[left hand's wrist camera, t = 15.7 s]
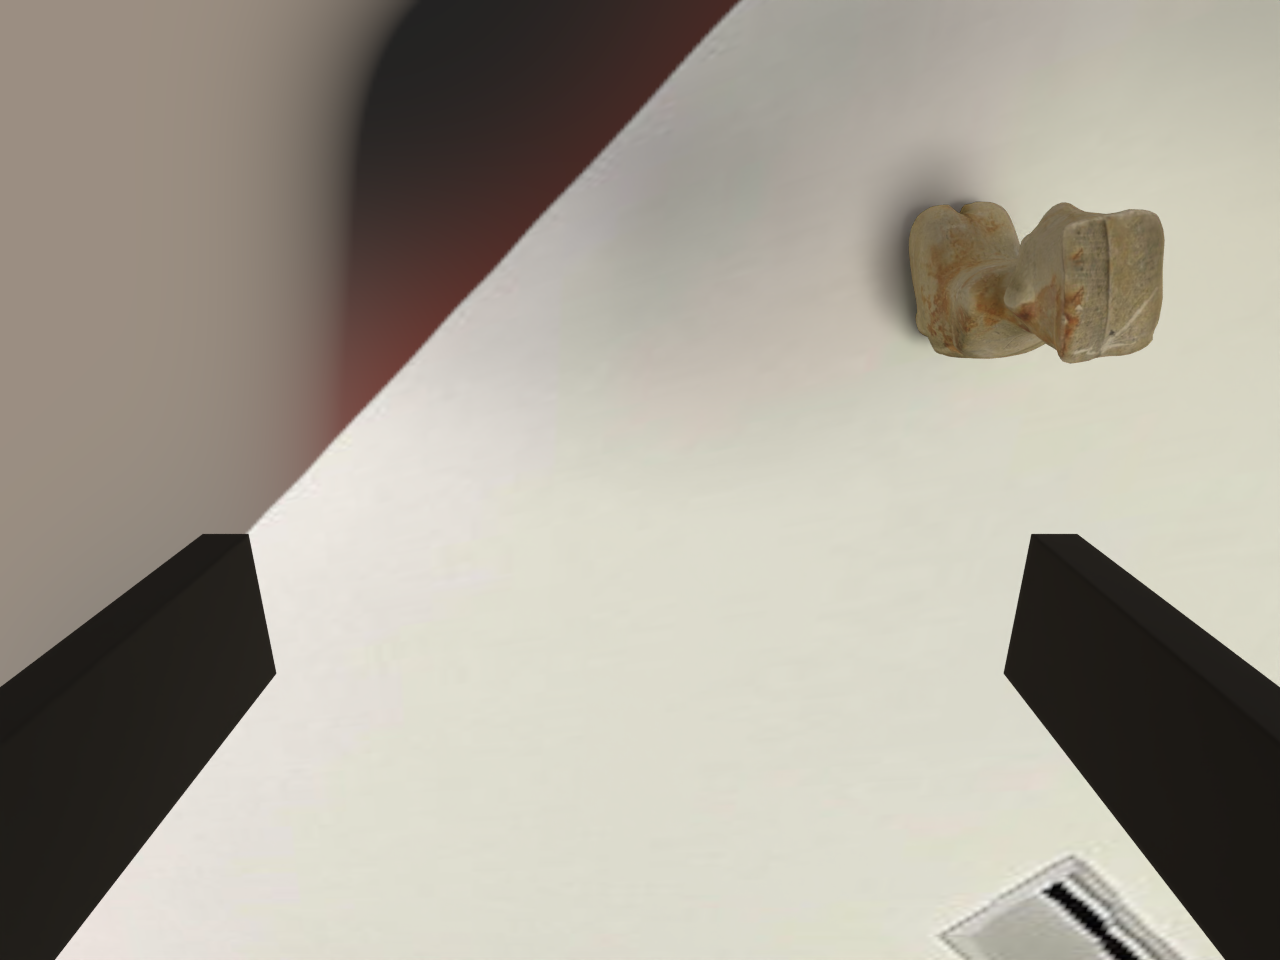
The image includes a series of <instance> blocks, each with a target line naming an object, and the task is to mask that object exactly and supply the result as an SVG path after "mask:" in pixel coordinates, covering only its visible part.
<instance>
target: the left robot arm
mask: <svg viewBox="0 0 1280 960" xmlns="http://www.w3.org/2000/svg"><path fill="white" fill-rule="evenodd" d="M275 675H276V669H275V664H274V659H273V654H272V649H271V644H270V639H269V634H268V629H267V624H266V619H265V614H264V609H263V604H262V599H261V594H260V589H259V584H258V579H257V574H256V569H255V564H254V559H253V554H252V549H251V544H250V539H249V534H202V535H201V536H200V537H198V538H197V539H196V540H194V541H193V542H192V543H190V544H189V545H188V546H186V547H185V548H184V549H182V550H181V551H180V552H178V553H177V554H176V555H175V556H173V557H172V558H171V559H169V560H168V561H167V562H165V563H164V564H163V565H161V566H160V567H159V568H157V569H156V570H155V571H153V572H152V573H151V574H149V575H148V576H147V577H145V578H144V579H143V580H141V581H140V582H139V583H137V584H136V585H135V586H133V587H132V588H131V589H130V590H128V591H127V592H126V593H124V594H123V595H122V596H120V597H119V598H118V599H116V600H115V601H114V602H112V603H111V604H110V605H108V606H107V607H106V608H104V609H103V610H102V611H100V612H99V613H98V614H96V615H95V616H94V617H92V618H91V619H90V620H89V621H87V622H86V623H85V624H83V625H82V626H81V627H79V628H78V629H77V630H75V631H74V632H73V633H71V634H70V635H69V636H67V637H66V638H65V639H63V640H62V641H61V642H59V643H58V644H57V645H55V646H54V647H53V648H52V649H50V650H49V651H48V652H46V653H45V654H44V655H42V656H41V657H40V658H38V659H37V660H36V661H34V662H33V663H32V664H30V665H29V666H28V667H26V668H25V669H24V670H22V671H21V672H20V673H18V674H17V675H16V676H15V677H13V678H12V679H11V680H9V681H8V682H7V683H5V684H4V685H3V686H1V687H0V960H55V959H56V958H57V956H58V955H59V954H60V952H61V951H62V950H63V949H64V947H65V946H66V945H67V943H68V942H69V941H70V940H71V938H72V937H73V936H74V934H75V933H76V932H77V930H78V929H79V928H80V927H81V925H82V924H83V923H84V921H85V920H86V919H87V918H88V916H89V915H90V914H91V912H92V911H93V910H94V908H95V907H96V906H97V905H98V903H99V902H100V901H101V899H102V898H103V897H104V896H105V894H106V893H107V892H108V890H109V889H110V888H111V887H112V885H113V884H114V883H115V881H116V880H117V879H118V877H119V876H120V875H121V874H122V872H123V871H124V870H125V868H126V867H127V866H128V865H129V863H130V862H131V861H132V859H133V858H134V857H135V855H136V854H137V853H138V852H139V850H140V849H141V848H142V846H143V845H144V844H145V843H146V841H147V840H148V839H149V837H150V836H151V835H152V834H153V832H154V831H155V830H156V828H157V827H158V826H159V824H160V823H161V822H162V821H163V819H164V818H165V817H166V815H167V814H168V813H169V812H170V810H171V809H172V808H173V806H174V805H175V804H176V803H177V801H178V800H179V799H180V797H181V796H182V795H183V793H184V792H185V791H186V790H187V788H188V787H189V786H190V784H191V783H192V782H193V781H194V779H195V778H196V777H197V775H198V774H199V773H200V771H201V770H202V769H203V768H204V766H205V765H206V764H207V762H208V761H209V760H210V759H211V757H212V756H213V755H214V753H215V752H216V751H217V750H218V748H219V747H220V746H221V744H222V743H223V742H224V740H225V739H226V738H227V737H228V735H229V734H230V733H231V731H232V730H233V729H234V728H235V726H236V725H237V724H238V722H239V721H240V720H241V718H242V717H243V716H244V715H245V713H246V712H247V711H248V709H249V708H250V707H251V706H252V704H253V703H254V702H255V700H256V699H257V698H258V697H259V695H260V694H261V693H262V691H263V690H264V689H265V687H266V686H267V685H268V684H269V682H270V681H271V680H272V678H273V677H274V676H275ZM1004 675H1005V676H1006V677H1007V678H1008V680H1009V681H1010V682H1011V684H1012V685H1013V686H1014V687H1015V689H1016V690H1017V691H1018V693H1019V694H1020V695H1021V697H1022V698H1023V699H1024V700H1025V702H1026V703H1027V704H1028V706H1029V707H1030V708H1031V709H1032V711H1033V712H1034V713H1035V715H1036V716H1037V717H1038V718H1039V720H1040V721H1041V722H1042V724H1043V725H1044V726H1045V728H1046V729H1047V730H1048V731H1049V733H1050V734H1051V735H1052V737H1053V738H1054V739H1055V740H1056V742H1057V743H1058V744H1059V746H1060V747H1061V748H1062V750H1063V751H1064V752H1065V753H1066V755H1067V756H1068V757H1069V759H1070V760H1071V761H1072V762H1073V764H1074V765H1075V766H1076V768H1077V769H1078V770H1079V771H1080V773H1081V774H1082V775H1083V777H1084V778H1085V779H1086V781H1087V782H1088V783H1089V784H1090V786H1091V787H1092V788H1093V790H1094V791H1095V792H1096V793H1097V795H1098V796H1099V797H1100V799H1101V800H1102V801H1103V803H1104V804H1105V805H1106V806H1107V808H1108V809H1109V810H1110V812H1111V813H1112V814H1113V815H1114V817H1115V818H1116V819H1117V821H1118V822H1119V823H1120V824H1121V826H1122V827H1123V828H1124V830H1125V831H1126V832H1127V834H1128V835H1129V836H1130V837H1131V839H1132V840H1133V841H1134V843H1135V844H1136V845H1137V846H1138V848H1139V849H1140V850H1141V852H1142V853H1143V854H1144V855H1145V857H1146V858H1147V859H1148V861H1149V862H1150V863H1151V865H1152V866H1153V867H1154V868H1155V870H1156V871H1157V872H1158V874H1159V875H1160V876H1161V877H1162V879H1163V880H1164V881H1165V883H1166V884H1167V885H1168V887H1169V888H1170V889H1171V890H1172V892H1173V893H1174V894H1175V896H1176V897H1177V898H1178V899H1179V901H1180V902H1181V903H1182V905H1183V906H1184V907H1185V908H1186V910H1187V911H1188V912H1189V914H1190V915H1191V916H1192V918H1193V919H1194V920H1195V921H1196V923H1197V924H1198V925H1199V927H1200V928H1201V929H1202V930H1203V932H1204V933H1205V934H1206V936H1207V937H1208V938H1209V940H1210V941H1211V942H1212V943H1213V945H1214V946H1215V947H1216V949H1217V950H1218V951H1219V952H1220V954H1221V955H1222V956H1223V958H1224V959H1225V960H1280V687H1279V686H1277V685H1276V684H1275V683H1273V682H1272V681H1271V680H1269V679H1268V678H1267V677H1266V676H1264V675H1263V674H1262V673H1260V672H1259V671H1258V670H1256V669H1255V668H1254V667H1252V666H1251V665H1250V664H1248V663H1247V662H1246V661H1244V660H1243V659H1242V658H1240V657H1239V656H1238V655H1236V654H1235V653H1234V652H1232V651H1231V650H1230V649H1229V648H1227V647H1226V646H1225V645H1223V644H1222V643H1221V642H1219V641H1218V640H1217V639H1215V638H1214V637H1213V636H1211V635H1210V634H1209V633H1207V632H1206V631H1205V630H1203V629H1202V628H1201V627H1199V626H1198V625H1197V624H1195V623H1194V622H1193V621H1191V620H1190V619H1189V618H1188V617H1186V616H1185V615H1184V614H1182V613H1181V612H1180V611H1178V610H1177V609H1176V608H1174V607H1173V606H1172V605H1170V604H1169V603H1168V602H1166V601H1165V600H1164V599H1162V598H1161V597H1160V596H1158V595H1157V594H1156V593H1154V592H1153V591H1152V590H1150V589H1149V588H1148V587H1147V586H1145V585H1144V584H1143V583H1141V582H1140V581H1139V580H1137V579H1136V578H1135V577H1133V576H1132V575H1131V574H1129V573H1128V572H1127V571H1125V570H1124V569H1123V568H1121V567H1120V566H1119V565H1117V564H1116V563H1115V562H1113V561H1112V560H1111V559H1109V558H1108V557H1107V556H1106V555H1104V554H1103V553H1102V552H1100V551H1099V550H1098V549H1096V548H1095V547H1094V546H1092V545H1091V544H1090V543H1088V542H1087V541H1086V540H1084V539H1083V538H1082V537H1080V536H1079V535H1078V534H1031V539H1030V544H1029V549H1028V554H1027V559H1026V564H1025V569H1024V574H1023V579H1022V584H1021V589H1020V594H1019V599H1018V604H1017V609H1016V614H1015V619H1014V624H1013V629H1012V634H1011V639H1010V644H1009V649H1008V654H1007V659H1006V664H1005V669H1004Z"/></svg>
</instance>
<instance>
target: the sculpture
mask: <svg viewBox="0 0 1280 960" xmlns="http://www.w3.org/2000/svg"><path fill="white" fill-rule="evenodd" d="M1163 255H1164V232H1163V228H1162V225H1161V222H1160V219H1159V217H1158V216H1157V214H1155V213H1153V212H1150V211H1147V210H1135V209H1128V210H1125V211H1121V212H1117V213H1111V214H1101V213H1090V212H1084V211H1082V210H1080V209H1078V208H1076V207H1075V206H1073V205H1072V204H1069V203H1060V204H1057V205H1055V206H1053V207H1052V208H1051V209H1050V210H1049V211H1048V212H1047V213H1046V214H1045V215H1044V216H1043V218H1042V220H1041V221H1040V223H1039V224H1038V226H1037V227H1036V228H1035V229H1034V230H1033V231H1032V232H1031V233H1030V234H1028V235H1027V236H1026V237H1025V238H1024V239H1023V240H1022V241H1021V245H1020V244H1019V240H1018V237H1017V234H1016V231H1015V229H1014V226H1013V224H1012V221H1011V219H1010V216H1009V215H1008V213H1007V212H1006V210H1005V209H1004V208H1002V207H1001V206H999V205H997V204H995V203H991V202H975V203H972V204H966V205H964V206H963V207H962V209H961V211H960V213H958V212H957V211H955V210H954V209H953V208H952V207H951V206H949V205H938V206H933V207H930V208H928V209H926V210H925V211H923V212H922V213H921V214H920V215H919V216H918V217H917V218H916V220H915V222H914V224H913V226H912V229H911V232H910V237H909V257H910V266H911V274H912V281H913V287H914V292H915V297H916V303H917V314H916V317H915V318H916V324H917V328H918V330H919V332H920V333H922V334H923V335H925V336H927V337H928V338H929V341H930V343H931V345H932V347H933V349H934V350H935V351H936V352H937V353H939V354H943V355H946V356H950V357H958V358H984V359H990V358H1001V357H1008V356H1013V355H1019V354H1023V353H1027V352H1029V351H1032V350H1034V349H1036V348H1038V347H1040V346H1042V345H1044V344H1047V345H1049V346H1051V347H1053V348H1054V349H1056V350H1057V352H1058V355H1059V357H1060V359H1061V360H1062V361H1063V362H1067V363H1078V362H1083V361H1089V360H1091V359H1094V358H1098V357H1105V356H1121V355H1127V354H1131V353H1134V352H1137V351H1139V350H1141V349H1143V348H1144V347H1146V346H1147V345H1148V344H1149V343H1150V342H1151V341H1152V340H1153V333H1154V330H1155V328H1156V326H1157V323H1158V320H1159V316H1160V311H1161V305H1162V298H1163Z"/></svg>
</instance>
